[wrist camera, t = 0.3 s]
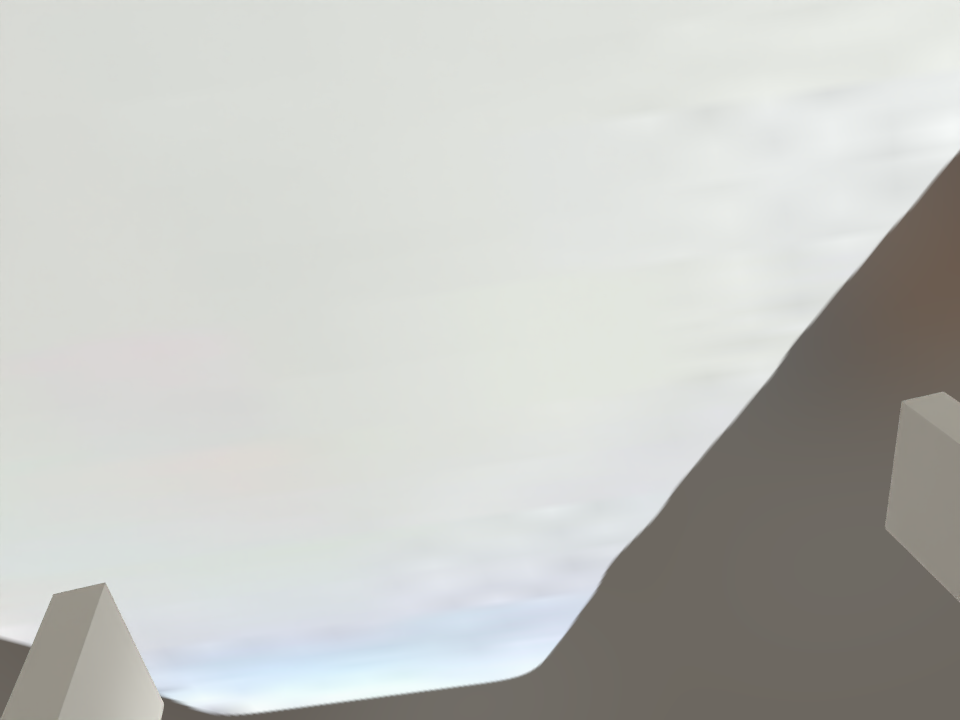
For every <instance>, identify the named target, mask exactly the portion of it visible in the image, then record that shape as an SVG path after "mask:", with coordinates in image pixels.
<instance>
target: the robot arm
mask: <svg viewBox="0 0 960 720" xmlns="http://www.w3.org/2000/svg"><path fill="white" fill-rule="evenodd" d="M885 529H886V530H887V531H888V532H889V533H890V534H891V535H892V536H893V537H894V538H895V539H896V540H897V541H898V542H899V543H900V544H901V545H902V546H904V547H905V548H906V549H907V550H908V551H909V552H910V553H911V554H912V555H913V556H914V557H915V558H916V559H917V560H918V561H919V562H920V563H921V564H922V565H923V566H924V567H925V568H926V569H927V570H928V571H929V572H930V573H931V574H932V575H933V576H934V577H935V578H936V579H937V580H938V581H939V582H940V583H941V584H942V585H943V586H944V587H945V588H946V589H947V590H948V591H949V592H950V593H951V594H952V595H953V596H954V597H955V598H956V599H957V600H958V601H959V602H960V402H958V401H956V400H955V399H954V398H952V397H951V396H949V395H948V394H946V393H945V392H940V393H935V394H931V395H927V396H922V397H918V398H914V399H909V400H905V401H902V404H901V411H900V419H899V426H898V434H897V441H896V449H895V456H894V464H893V471H892V478H891V487H890V494H889V501H888V509H887V516H886V523H885ZM163 707H164V703H163V701H162V699H161V697H160V695H159V693H158V691H157V688H156V686H155V684H154V682H153V680H152V678H151V676H150V674H149V672H148V670H147V668H146V666H145V664H144V662H143V660H142V657H141V655H140V653H139V651H138V649H137V647H136V645H135V643H134V641H133V639H132V637H131V635H130V633H129V631H128V628H127V626H126V624H125V622H124V620H123V618H122V616H121V614H120V612H119V610H118V608H117V606H116V604H115V602H114V599H113V597H112V595H111V593H110V591H109V589H108V587H107V585H106V583H101V584H97V585H92V586H88V587H83V588H79V589H75V590H70V591H66V592H61V593H57V594H53V597H52V599H51V601H50V604H49V606H48V608H47V611H46V613H45V616H44V618H43V620H42V623H41V625H40V627H39V630H38V632H37V634H36V637H35V639H34V642H33V644H32V646H31V649H30V651H29V653H28V656H27V658H26V661H25V663H24V665H23V668H22V670H21V672H20V675H19V677H18V680H17V682H16V684H15V687H14V689H13V691H12V694H11V696H10V698H9V701H8V703H7V706H6V708H5V710H4V713H3V715H2V717H1V720H161V717H162V712H163Z"/></svg>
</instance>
